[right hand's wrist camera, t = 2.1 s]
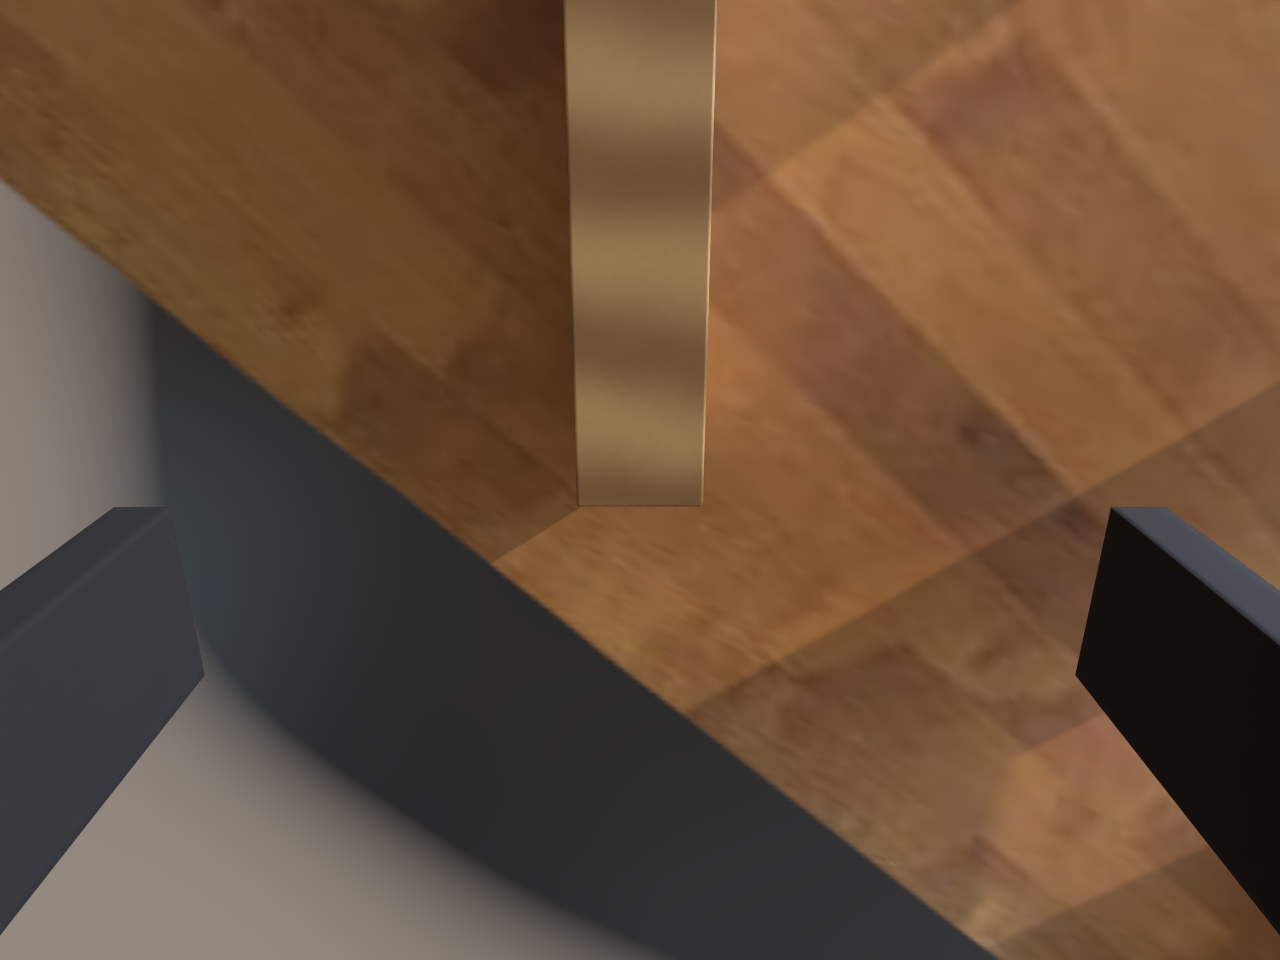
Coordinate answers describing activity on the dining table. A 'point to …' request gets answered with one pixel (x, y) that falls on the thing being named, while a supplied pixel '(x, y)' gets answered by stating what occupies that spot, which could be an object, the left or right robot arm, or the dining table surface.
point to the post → (640, 244)
